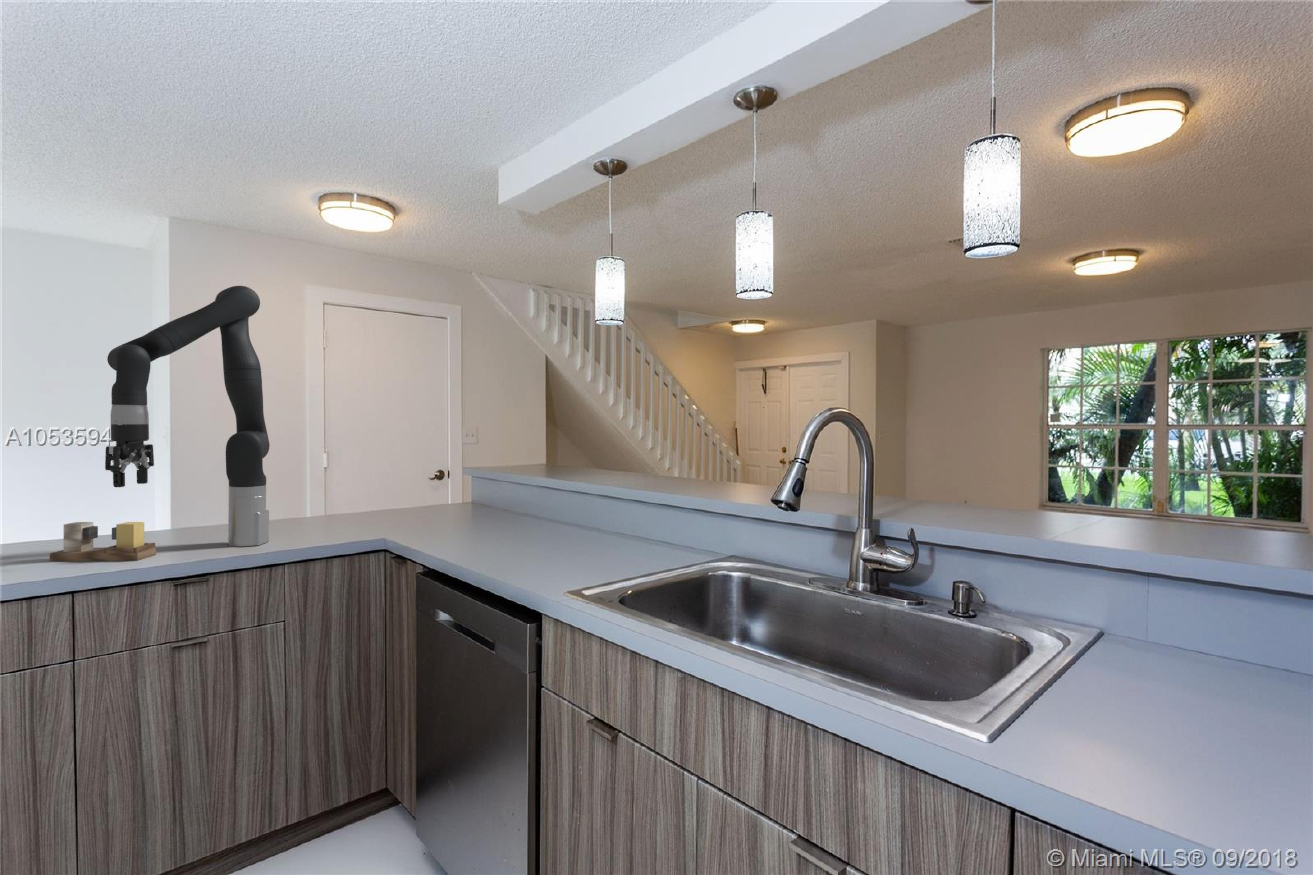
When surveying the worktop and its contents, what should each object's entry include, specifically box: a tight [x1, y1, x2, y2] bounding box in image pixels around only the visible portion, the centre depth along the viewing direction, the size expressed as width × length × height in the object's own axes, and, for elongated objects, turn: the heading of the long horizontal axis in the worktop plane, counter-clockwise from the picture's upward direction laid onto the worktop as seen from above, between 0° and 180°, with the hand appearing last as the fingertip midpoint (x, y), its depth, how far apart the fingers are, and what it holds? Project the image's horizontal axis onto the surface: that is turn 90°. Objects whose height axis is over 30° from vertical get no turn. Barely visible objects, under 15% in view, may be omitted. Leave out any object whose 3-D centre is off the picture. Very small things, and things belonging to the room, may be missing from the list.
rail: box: [49, 521, 157, 562], centre depth 159 cm, size 20×7×9 cm, turn 98°
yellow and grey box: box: [111, 521, 145, 548], centre depth 160 cm, size 5×4×7 cm
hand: (131, 485), depth 159 cm, fingers open, 8 cm apart
